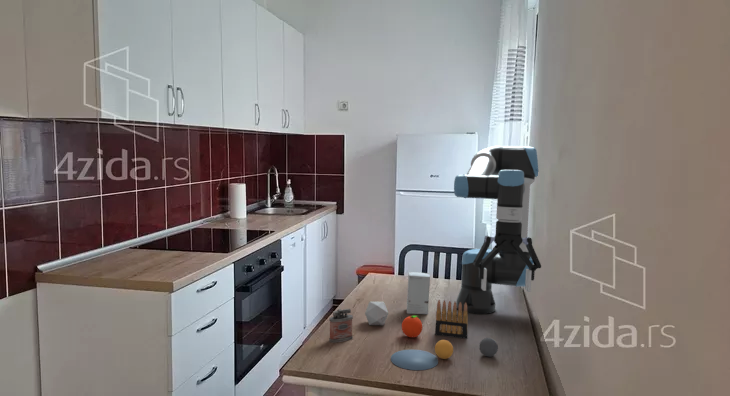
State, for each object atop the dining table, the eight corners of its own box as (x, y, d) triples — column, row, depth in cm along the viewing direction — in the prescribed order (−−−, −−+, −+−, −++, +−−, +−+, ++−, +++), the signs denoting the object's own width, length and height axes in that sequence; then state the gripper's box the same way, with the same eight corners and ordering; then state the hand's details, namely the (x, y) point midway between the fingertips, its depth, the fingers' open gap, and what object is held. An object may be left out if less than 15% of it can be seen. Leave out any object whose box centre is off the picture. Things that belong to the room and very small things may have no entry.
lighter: (331, 343, 158) (332, 312, 157) (327, 339, 161) (327, 309, 160) (354, 339, 162) (354, 309, 161) (349, 335, 165) (350, 306, 164)
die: (380, 331, 171) (394, 307, 173) (359, 318, 172) (373, 294, 174) (379, 331, 179) (393, 308, 181) (359, 318, 180) (373, 295, 182)
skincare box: (406, 313, 187) (407, 275, 186) (406, 308, 193) (407, 271, 192) (429, 314, 187) (430, 276, 185) (428, 309, 193) (429, 272, 191)
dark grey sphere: (493, 351, 154) (493, 334, 153) (500, 359, 148) (501, 341, 148) (476, 352, 153) (476, 335, 152) (483, 360, 147) (483, 342, 147)
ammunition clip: (467, 336, 166) (468, 301, 164) (467, 338, 164) (468, 303, 163) (435, 333, 169) (436, 298, 167) (434, 334, 167) (435, 300, 166)
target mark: (430, 349, 155) (430, 348, 155) (444, 368, 141) (444, 368, 141) (386, 351, 153) (386, 350, 153) (396, 371, 139) (396, 370, 139)
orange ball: (449, 354, 151) (450, 336, 151) (455, 361, 146) (456, 343, 146) (432, 354, 151) (432, 337, 150) (437, 362, 145) (438, 344, 145)
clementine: (410, 330, 171) (411, 310, 170) (427, 335, 166) (428, 314, 165) (397, 337, 164) (397, 316, 164) (414, 342, 160) (415, 321, 159)
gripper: (470, 220, 146) (467, 292, 147) (554, 223, 147) (551, 294, 148) (465, 218, 153) (462, 286, 154) (545, 220, 154) (541, 288, 155)
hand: (505, 290), depth 151 cm, fingers open, 13 cm apart
